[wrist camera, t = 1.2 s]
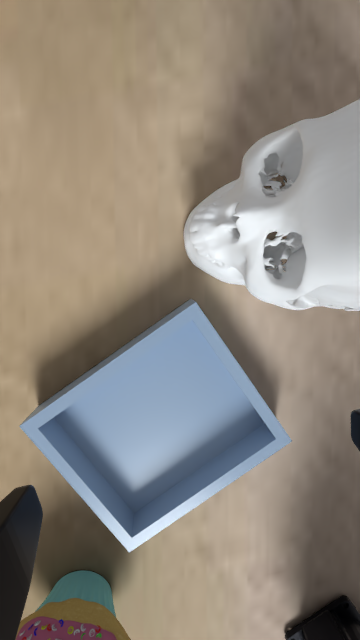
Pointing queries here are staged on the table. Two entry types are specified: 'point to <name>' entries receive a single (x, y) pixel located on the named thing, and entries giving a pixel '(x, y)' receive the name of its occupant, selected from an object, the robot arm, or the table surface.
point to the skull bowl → (289, 217)
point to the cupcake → (75, 612)
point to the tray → (157, 427)
